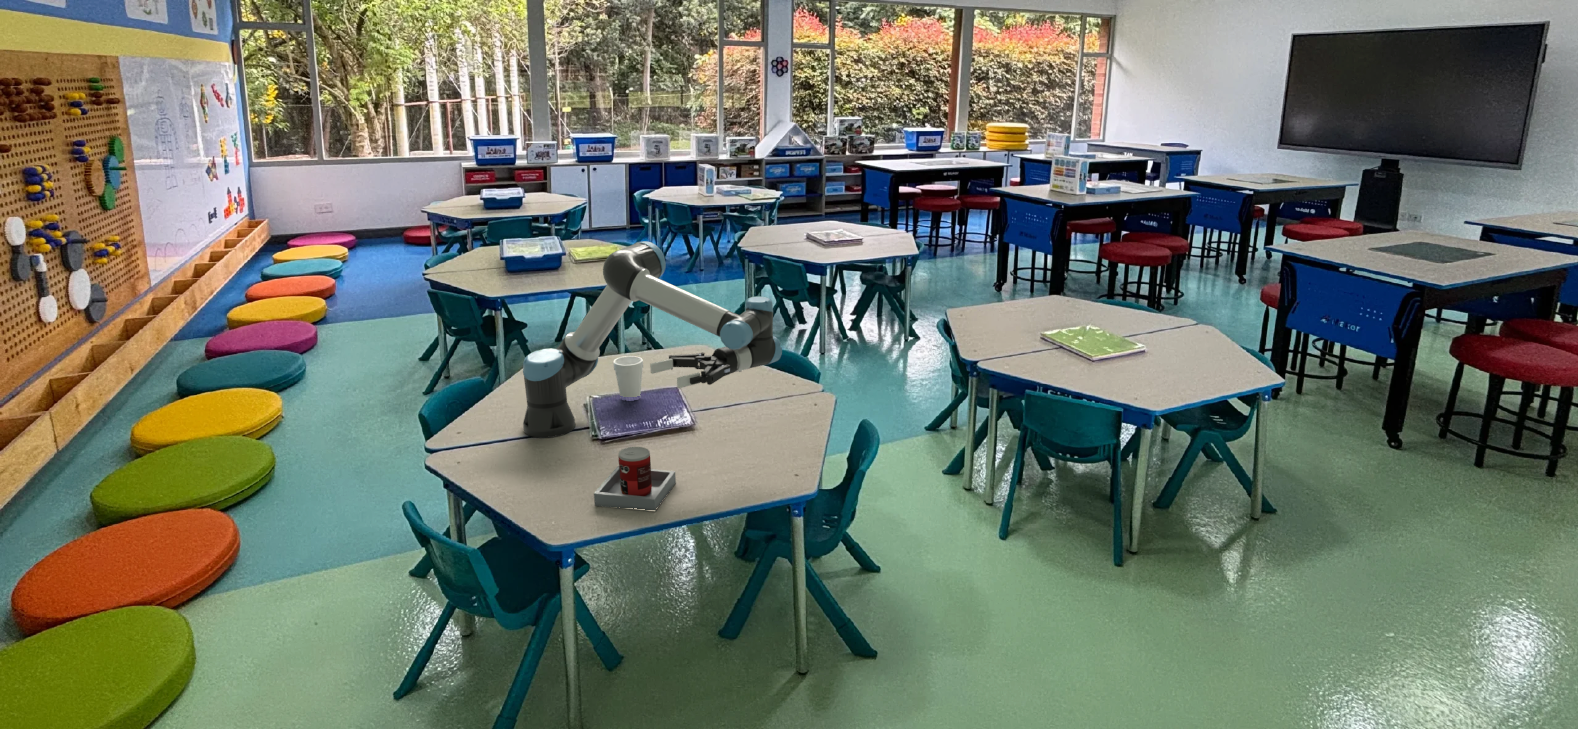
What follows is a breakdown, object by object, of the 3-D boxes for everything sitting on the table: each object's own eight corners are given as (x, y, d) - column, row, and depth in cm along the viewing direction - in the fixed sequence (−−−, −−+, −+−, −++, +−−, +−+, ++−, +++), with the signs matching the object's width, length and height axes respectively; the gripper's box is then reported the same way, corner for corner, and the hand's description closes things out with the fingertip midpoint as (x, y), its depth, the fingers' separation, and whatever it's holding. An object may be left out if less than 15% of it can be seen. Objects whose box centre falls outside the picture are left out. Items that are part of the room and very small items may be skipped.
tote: (594, 505, 231) (593, 493, 230) (618, 477, 246) (617, 465, 245) (655, 512, 228) (654, 499, 227) (675, 483, 243) (675, 471, 241)
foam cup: (638, 404, 295) (636, 366, 290) (611, 402, 296) (608, 364, 292) (648, 393, 303) (646, 356, 299) (622, 391, 305) (619, 354, 301)
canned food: (622, 485, 240) (619, 446, 236) (653, 484, 240) (650, 445, 237) (619, 499, 233) (616, 459, 229) (651, 497, 233) (648, 458, 230)
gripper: (758, 385, 244) (690, 403, 232) (706, 360, 263) (641, 375, 251) (757, 358, 242) (689, 375, 229) (705, 335, 260) (639, 349, 248)
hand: (664, 375), depth 240 cm, fingers open, 13 cm apart
